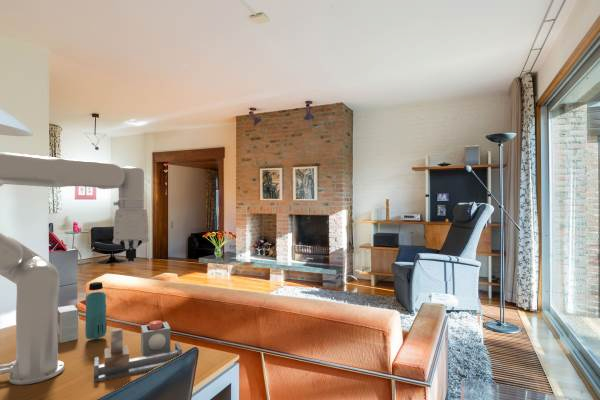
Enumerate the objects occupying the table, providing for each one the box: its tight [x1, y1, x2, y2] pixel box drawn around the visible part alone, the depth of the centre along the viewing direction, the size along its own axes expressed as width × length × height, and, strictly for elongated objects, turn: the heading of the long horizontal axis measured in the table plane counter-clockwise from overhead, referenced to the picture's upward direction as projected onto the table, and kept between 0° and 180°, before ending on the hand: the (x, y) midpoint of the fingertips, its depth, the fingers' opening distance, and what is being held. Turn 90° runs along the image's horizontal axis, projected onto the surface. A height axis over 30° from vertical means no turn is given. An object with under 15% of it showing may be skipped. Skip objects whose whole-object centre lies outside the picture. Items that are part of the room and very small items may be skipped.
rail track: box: [93, 342, 183, 383], centre depth 105 cm, size 23×8×4 cm, turn 119°
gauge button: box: [148, 320, 163, 331], centre depth 115 cm, size 4×4×3 cm
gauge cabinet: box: [140, 321, 171, 357], centre depth 115 cm, size 8×7×8 cm
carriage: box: [104, 327, 130, 369], centre depth 102 cm, size 6×7×9 cm
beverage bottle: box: [84, 281, 108, 340], centre depth 125 cm, size 6×7×20 cm
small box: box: [58, 304, 79, 344], centre depth 126 cm, size 8×6×10 cm
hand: (130, 260), depth 117 cm, fingers closed
